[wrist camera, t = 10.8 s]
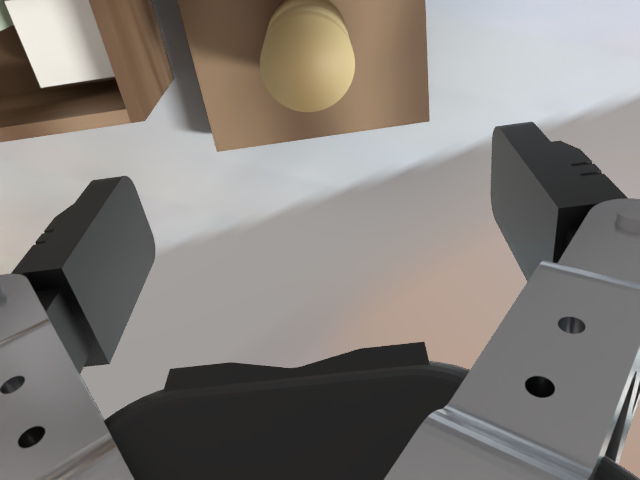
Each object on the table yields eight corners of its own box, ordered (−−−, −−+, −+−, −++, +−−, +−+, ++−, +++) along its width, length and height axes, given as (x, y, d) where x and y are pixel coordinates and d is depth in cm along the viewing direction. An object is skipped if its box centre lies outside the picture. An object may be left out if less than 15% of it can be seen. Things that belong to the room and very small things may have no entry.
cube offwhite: (115, -25, 24) (89, -13, 22) (140, 54, 26) (119, 75, 23) (40, -13, 25) (4, 1, 22) (70, 65, 27) (40, 87, 24)
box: (112, -134, 23) (58, -141, 18) (173, 78, 28) (144, 120, 23) (-113, -95, 24) (-227, -90, 18) (-15, 107, 28) (-84, 154, 23)
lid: (412, -111, 24) (448, -111, 18) (421, 106, 29) (452, 163, 23) (170, -70, 24) (126, -57, 18) (222, 135, 30) (201, 198, 24)
